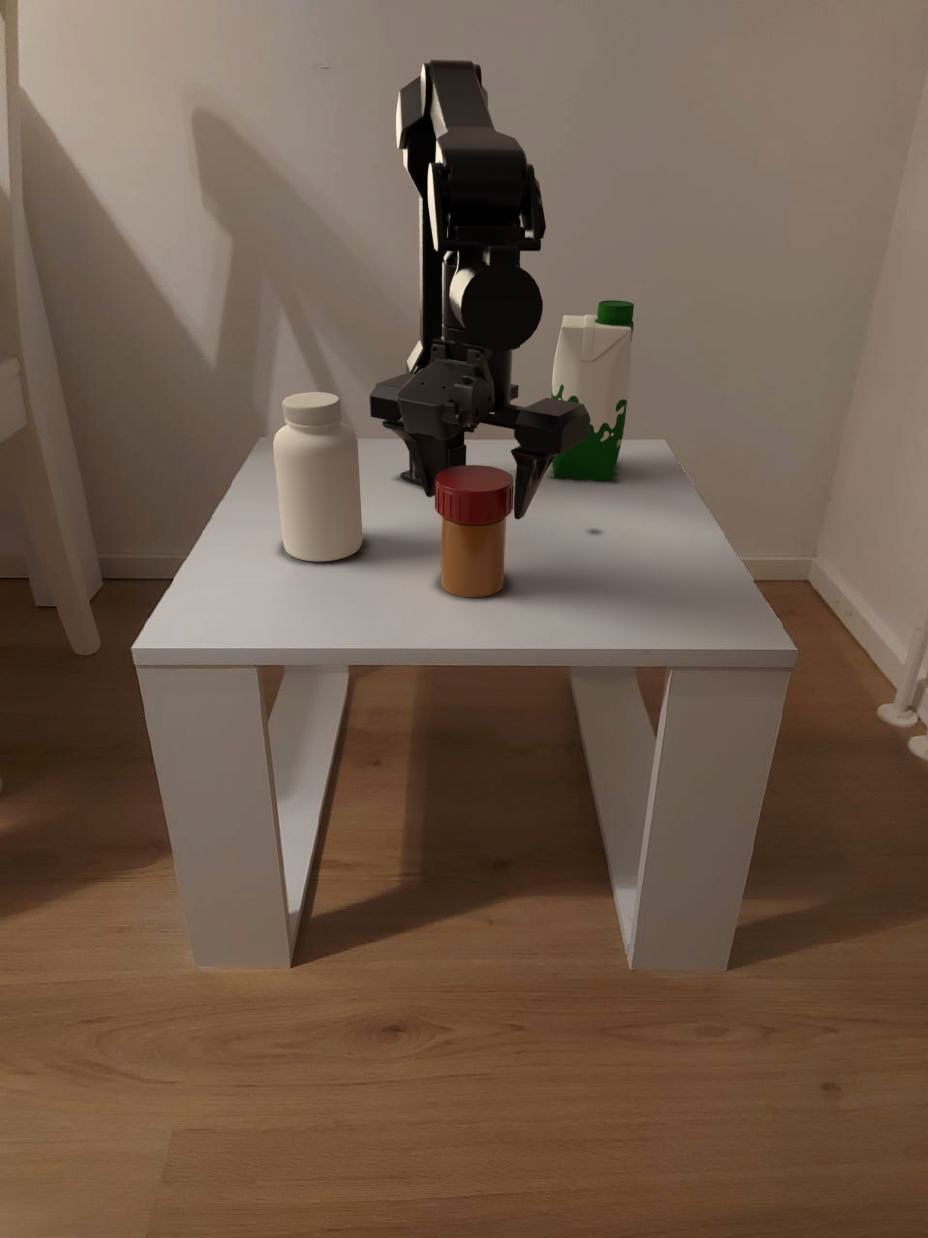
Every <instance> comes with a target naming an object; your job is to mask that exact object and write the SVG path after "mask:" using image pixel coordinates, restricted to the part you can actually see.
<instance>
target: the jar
mask: <svg viewBox="0 0 928 1238" xmlns="http://www.w3.org/2000/svg"><path fill="white" fill-rule="evenodd" d="M440 521H441V522H440V551H441V552H440V584H441V588H442V589H443V590H445V591H446V592H448V593H449V594H452V595H454V596H456V597H457V596H458V597H463V598H473V599H476V598H485V597H489V596H492V595H495V594H497V593H498V592H499V591H501V590H502V589H503V587H504V581H505V580H504V579H505V577H504V576H505V555H506V553H505V552H506V532H507V531H506V530H507V529H506V528H507V527H506V526H507V517H505V518H503V519H501V520H498V521H494V522H488V523H463V522H457V521H453V520H449V519H446V518H444V517H442V516H441V515H440Z"/></svg>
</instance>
